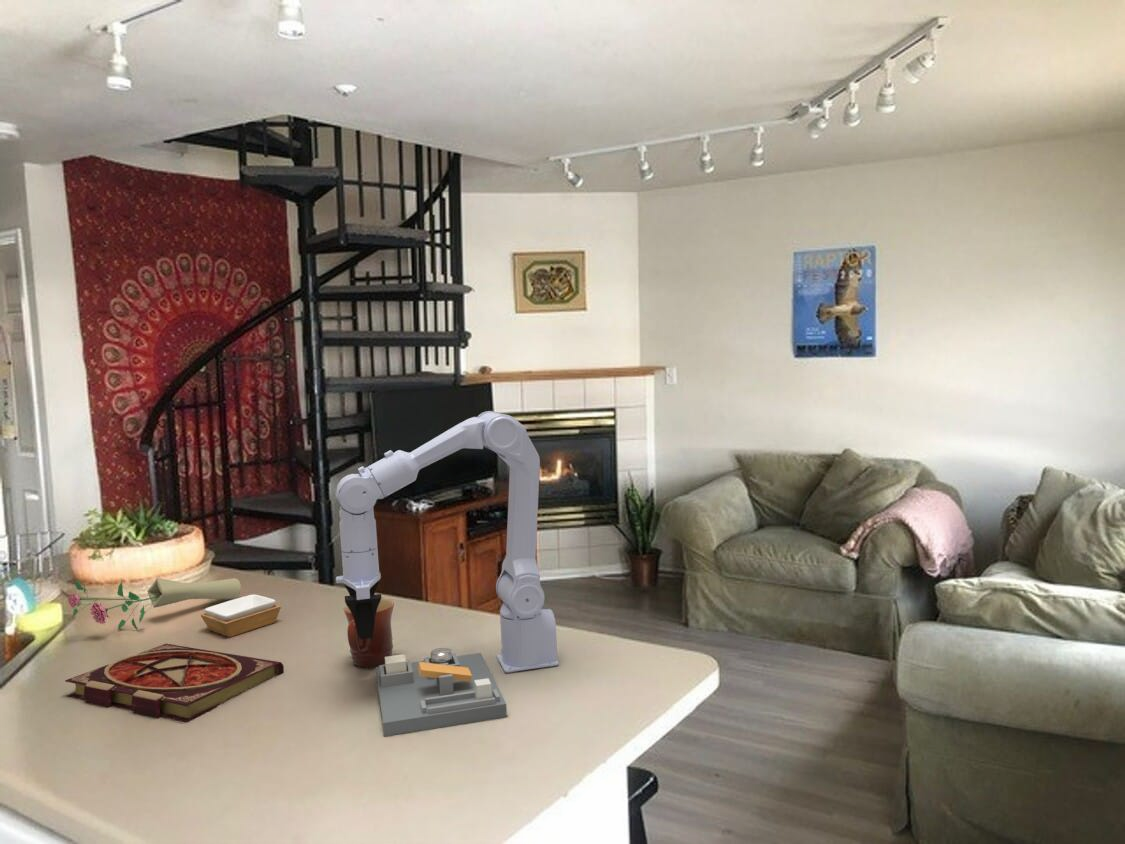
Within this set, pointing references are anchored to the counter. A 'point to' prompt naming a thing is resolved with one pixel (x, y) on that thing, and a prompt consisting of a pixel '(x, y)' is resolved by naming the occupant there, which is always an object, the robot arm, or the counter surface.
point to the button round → (441, 656)
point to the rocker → (444, 671)
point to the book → (172, 681)
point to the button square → (395, 664)
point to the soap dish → (241, 615)
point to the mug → (380, 644)
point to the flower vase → (162, 596)
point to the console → (435, 697)
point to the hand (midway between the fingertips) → (365, 630)
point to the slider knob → (482, 689)
